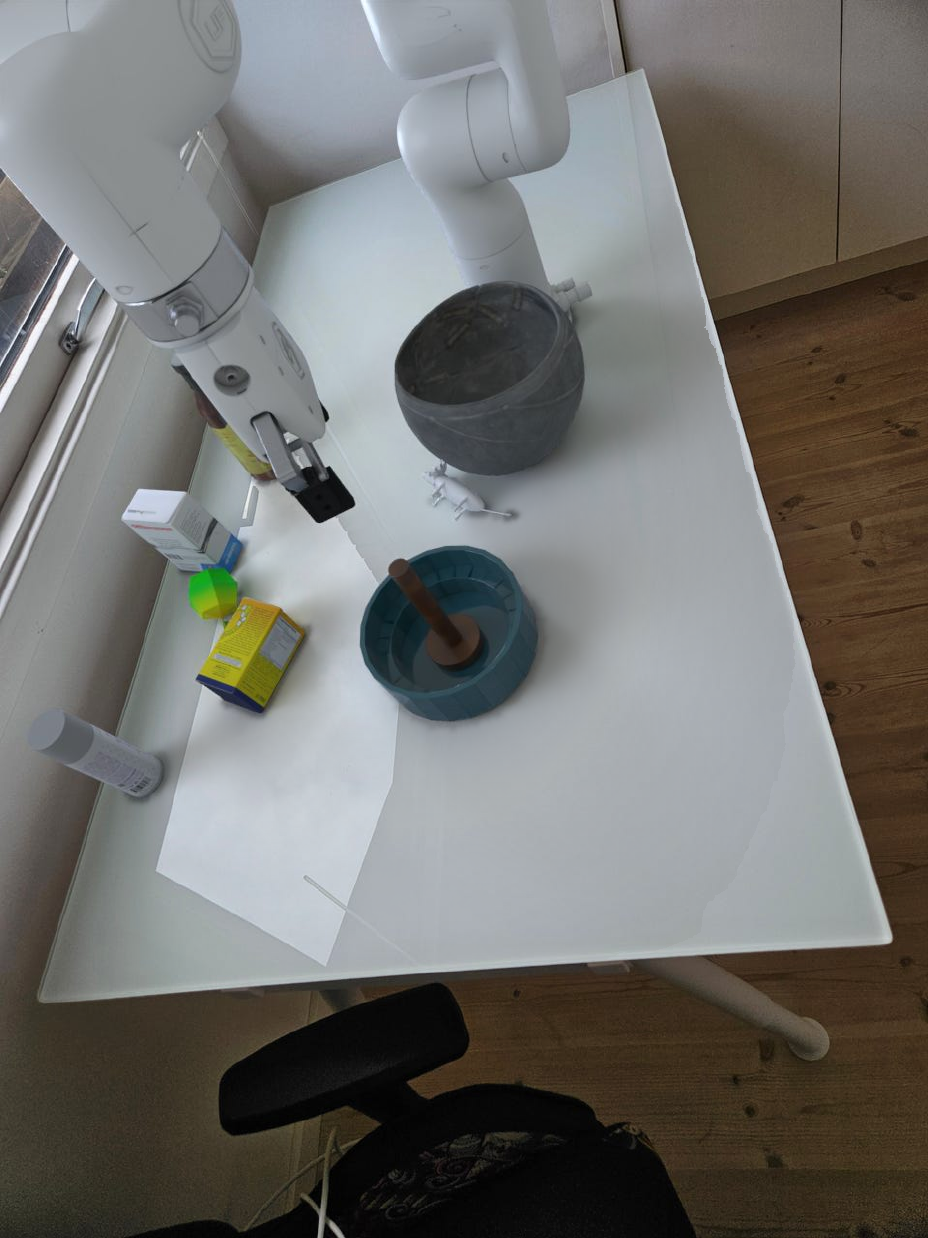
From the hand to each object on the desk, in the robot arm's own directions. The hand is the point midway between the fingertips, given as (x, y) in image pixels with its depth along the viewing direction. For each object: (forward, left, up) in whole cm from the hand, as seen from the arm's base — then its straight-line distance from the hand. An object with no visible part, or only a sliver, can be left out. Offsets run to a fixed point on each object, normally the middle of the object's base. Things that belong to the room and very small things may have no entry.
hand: (324, 467), depth 61 cm
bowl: (-15, -24, -30) cm, 41 cm away
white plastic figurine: (-4, -16, -28) cm, 33 cm away
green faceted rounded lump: (+23, -19, -26) cm, 40 cm away
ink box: (+27, -29, -31) cm, 50 cm away
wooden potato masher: (0, 0, -30) cm, 30 cm away
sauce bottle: (+16, -40, -31) cm, 53 cm away
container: (+39, -2, -31) cm, 50 cm away
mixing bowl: (0, 0, -30) cm, 30 cm away
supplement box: (+26, -5, -27) cm, 38 cm away
